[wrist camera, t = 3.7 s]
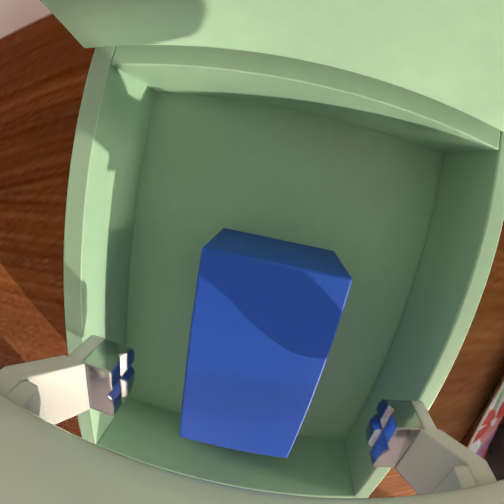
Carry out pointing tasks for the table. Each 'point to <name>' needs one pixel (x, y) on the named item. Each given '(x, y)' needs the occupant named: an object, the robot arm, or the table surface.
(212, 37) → the lunchbox lid
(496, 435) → the chocolate cake
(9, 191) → the table surface
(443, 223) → the box
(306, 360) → the block
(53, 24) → the table surface
